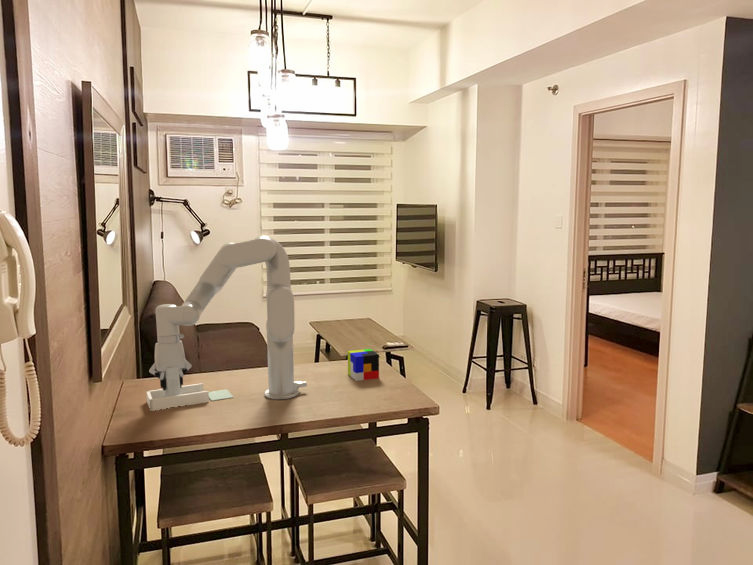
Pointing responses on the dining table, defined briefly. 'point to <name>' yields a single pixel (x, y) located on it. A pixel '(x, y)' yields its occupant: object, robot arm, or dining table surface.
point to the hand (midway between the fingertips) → (172, 387)
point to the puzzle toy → (363, 364)
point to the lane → (177, 397)
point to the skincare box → (172, 382)
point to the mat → (220, 395)
